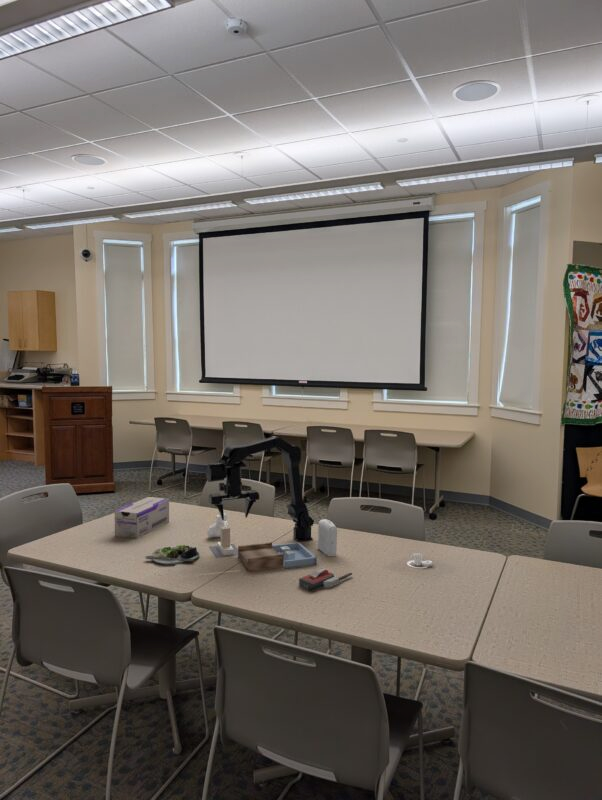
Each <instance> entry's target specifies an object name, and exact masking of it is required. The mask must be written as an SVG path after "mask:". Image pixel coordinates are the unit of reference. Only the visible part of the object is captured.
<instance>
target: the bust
mask: <svg viewBox="0 0 602 800" xmlns="http://www.w3.org/2000/svg"><path fill="white" fill-rule="evenodd" d="M214 519H215V520H216V521H215V522H214V523H213V524H211V525H210V526H209V528H207V529H208V530H207V533H206V535H207V537H208V539H211V538H221V527H225V526H229V525H230V524H229V523H228V521H227V519H228V515H227V513H226V512H224V520H222V518H221V515H220V513H219V512H218V514H217V515H215V516H214ZM229 527H230V526H229Z"/></svg>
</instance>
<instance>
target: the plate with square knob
mask: <svg viewBox="0 0 602 800" xmlns="http://www.w3.org/2000/svg"><path fill="white" fill-rule="evenodd" d="M230 544H231V527H230V526H225V527H221V537H220V541H217V543H216V546H217V548H218V549H219V550H220V552H221V553H222V555H223V556H224V555H233V554H234V549H233V548H232V546H231V545H230Z"/></svg>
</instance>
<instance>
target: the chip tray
mask: <svg viewBox="0 0 602 800" xmlns="http://www.w3.org/2000/svg"><path fill="white" fill-rule="evenodd" d="M284 546H288V547H289V548H290V551H293V552H294V553H295V559H293V560H285V557H284V567H283V568H284V569H293V568H294V569H295V568H302V567H307V566H308V567H309V566H316V565H318V560H317V559H318V558H317V556H315V554H313V553H312V552H311V551H310V550H309V549H307V547H305V546H304V545H303V544H302V543H301V542H300V541H297V542H289V543H280V544H278V543H277V544H272V547H273V548H274V549H275V550H276V551H277V552H278V553H279V554H280V547H284Z"/></svg>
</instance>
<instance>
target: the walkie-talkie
mask: <svg viewBox="0 0 602 800" xmlns="http://www.w3.org/2000/svg"><path fill="white" fill-rule="evenodd" d="M351 576H353V573H352V572H349V573H346V574H344V575H341V576H339V577H336V576H335V574H334V573H333V572H329V570H328V569H326V568H324V567H322V568H319V569H316V570H314V571H313V573H309V574H307V575H305V576H302V577H300V578H299V579H298V587H299V588H301V589H304V590H307V591H309V592H315V591H318V590H321V589H322V588H324V589H326V588H333V587H334V586H337V585H340V582H341V581H343V580H345V579H347V578H348V577H351Z"/></svg>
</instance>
